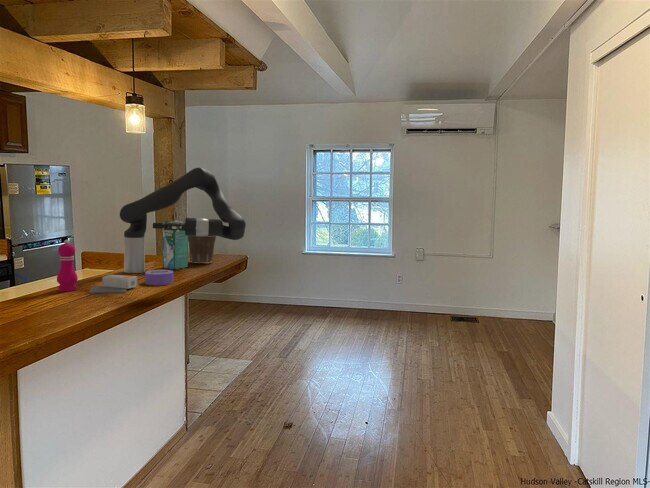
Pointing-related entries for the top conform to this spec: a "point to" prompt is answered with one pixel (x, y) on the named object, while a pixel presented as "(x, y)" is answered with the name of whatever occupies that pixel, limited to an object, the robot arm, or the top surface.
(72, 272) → the pepper mill
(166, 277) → the tape roll
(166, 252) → the milk carton
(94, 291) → the mat
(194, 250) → the plant pot
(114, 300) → the top surface
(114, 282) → the skincare box
